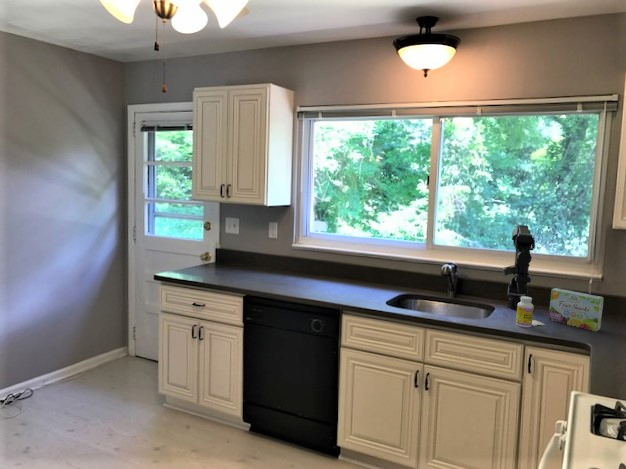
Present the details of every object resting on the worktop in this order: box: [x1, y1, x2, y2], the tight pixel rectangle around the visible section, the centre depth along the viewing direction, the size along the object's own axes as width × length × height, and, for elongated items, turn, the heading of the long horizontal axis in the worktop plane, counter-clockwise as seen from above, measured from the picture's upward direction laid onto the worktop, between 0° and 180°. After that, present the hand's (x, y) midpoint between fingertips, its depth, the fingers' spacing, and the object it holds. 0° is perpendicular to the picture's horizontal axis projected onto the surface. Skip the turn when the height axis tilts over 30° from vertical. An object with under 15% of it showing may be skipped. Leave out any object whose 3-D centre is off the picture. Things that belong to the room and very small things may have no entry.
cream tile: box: [532, 319, 546, 327], centre depth 245 cm, size 6×6×1 cm
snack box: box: [548, 287, 604, 333], centre depth 245 cm, size 21×6×15 cm, turn 45°
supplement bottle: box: [515, 296, 535, 329], centre depth 240 cm, size 7×7×13 cm
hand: (519, 293), depth 256 cm, fingers closed
